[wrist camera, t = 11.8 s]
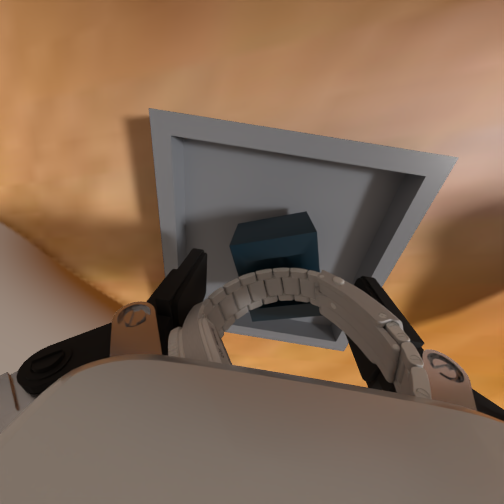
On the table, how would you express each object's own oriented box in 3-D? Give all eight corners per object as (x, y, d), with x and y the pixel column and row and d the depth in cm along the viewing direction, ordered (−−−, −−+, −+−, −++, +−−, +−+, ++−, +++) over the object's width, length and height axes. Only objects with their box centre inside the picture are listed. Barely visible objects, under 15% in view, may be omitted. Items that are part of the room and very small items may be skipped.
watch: (209, 228, 13) (39, 469, 3) (337, 205, 12) (651, 505, 2) (231, 293, 16) (170, 534, 6) (338, 281, 14) (478, 569, 5)
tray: (170, 114, 12) (148, 108, 9) (424, 155, 11) (458, 157, 9) (180, 302, 19) (169, 322, 17) (335, 328, 19) (343, 351, 17)
